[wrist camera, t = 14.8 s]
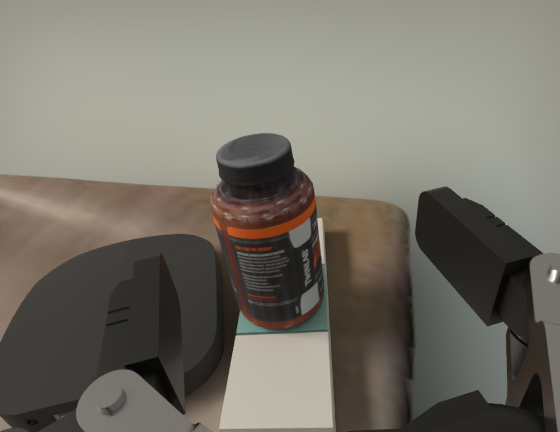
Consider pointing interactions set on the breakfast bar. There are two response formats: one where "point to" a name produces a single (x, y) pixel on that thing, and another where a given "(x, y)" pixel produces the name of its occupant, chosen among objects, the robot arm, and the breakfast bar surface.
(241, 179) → the supplement bottle
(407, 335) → the breakfast bar surface
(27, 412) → the media streaming box
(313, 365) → the key strip
